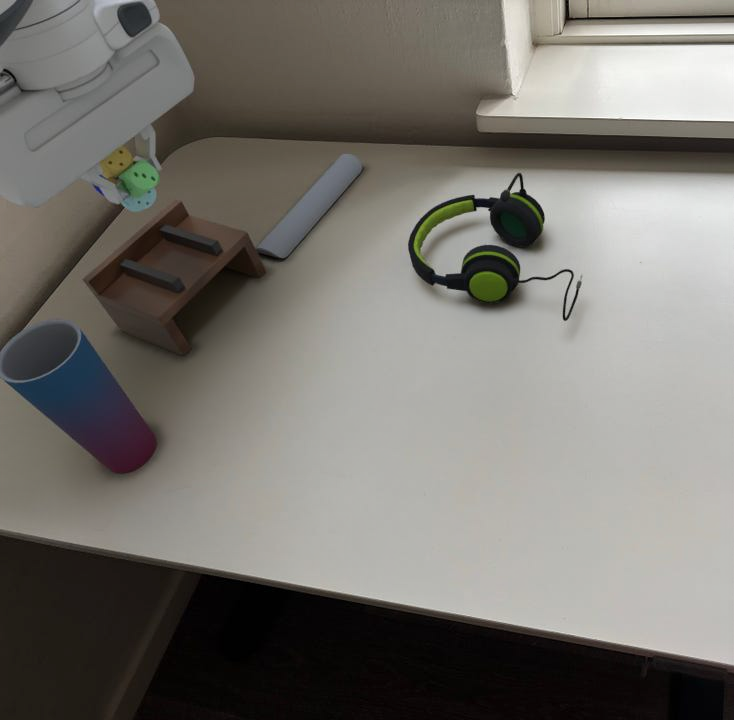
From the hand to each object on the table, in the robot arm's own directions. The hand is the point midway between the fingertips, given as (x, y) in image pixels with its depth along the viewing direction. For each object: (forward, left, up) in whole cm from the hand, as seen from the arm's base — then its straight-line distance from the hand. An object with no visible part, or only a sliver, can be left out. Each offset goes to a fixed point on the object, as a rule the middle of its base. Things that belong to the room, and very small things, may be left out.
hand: (136, 185), depth 67 cm
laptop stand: (-1, +3, -17) cm, 17 cm away
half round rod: (+17, +8, -17) cm, 26 cm away
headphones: (+27, -18, -17) cm, 37 cm away
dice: (0, +1, -2) cm, 3 cm away
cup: (-14, -12, -17) cm, 25 cm away
